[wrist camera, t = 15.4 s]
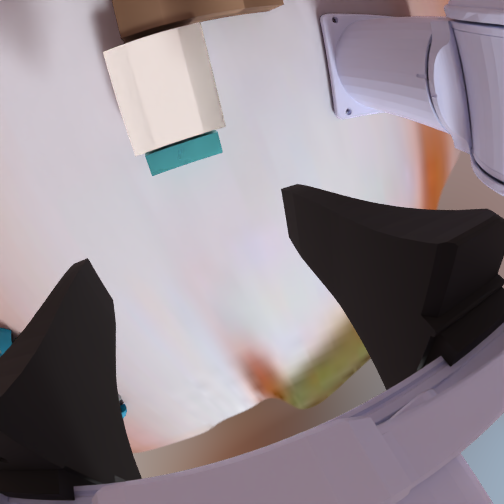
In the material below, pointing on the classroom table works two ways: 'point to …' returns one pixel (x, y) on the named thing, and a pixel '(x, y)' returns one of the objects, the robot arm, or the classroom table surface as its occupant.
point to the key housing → (165, 87)
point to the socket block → (178, 13)
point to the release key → (183, 152)
